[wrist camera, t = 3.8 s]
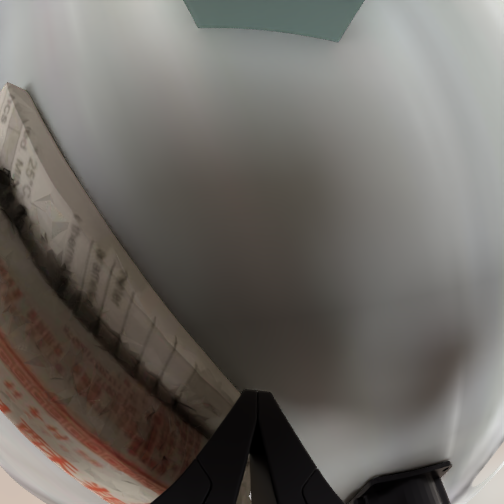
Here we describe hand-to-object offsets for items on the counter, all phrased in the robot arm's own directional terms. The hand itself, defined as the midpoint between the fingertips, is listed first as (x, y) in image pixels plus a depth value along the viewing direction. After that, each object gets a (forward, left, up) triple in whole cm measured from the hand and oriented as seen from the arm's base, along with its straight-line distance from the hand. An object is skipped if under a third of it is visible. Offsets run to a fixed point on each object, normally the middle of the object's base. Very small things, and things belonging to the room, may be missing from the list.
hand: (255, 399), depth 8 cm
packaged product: (+7, 0, -2) cm, 8 cm away
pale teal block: (+1, -13, -1) cm, 14 cm away
